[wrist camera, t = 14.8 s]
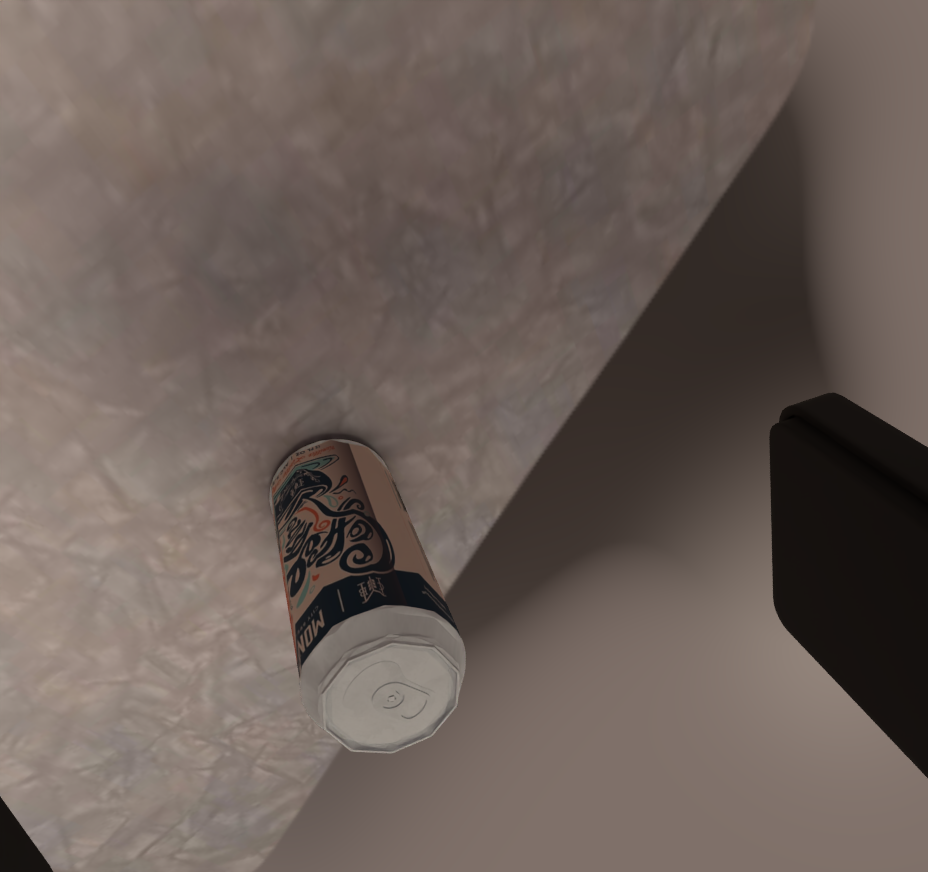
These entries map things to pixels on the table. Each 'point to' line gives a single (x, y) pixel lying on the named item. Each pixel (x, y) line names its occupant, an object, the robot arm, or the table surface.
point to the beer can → (362, 601)
